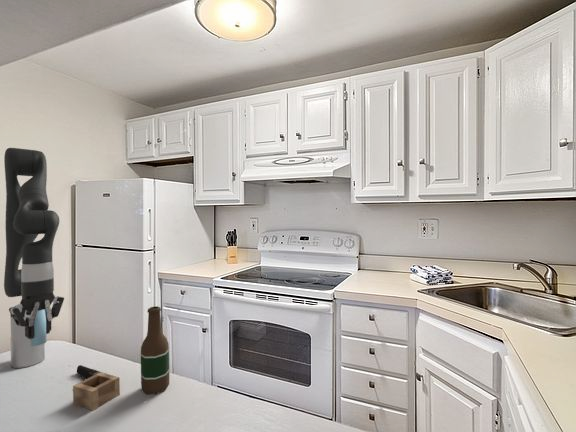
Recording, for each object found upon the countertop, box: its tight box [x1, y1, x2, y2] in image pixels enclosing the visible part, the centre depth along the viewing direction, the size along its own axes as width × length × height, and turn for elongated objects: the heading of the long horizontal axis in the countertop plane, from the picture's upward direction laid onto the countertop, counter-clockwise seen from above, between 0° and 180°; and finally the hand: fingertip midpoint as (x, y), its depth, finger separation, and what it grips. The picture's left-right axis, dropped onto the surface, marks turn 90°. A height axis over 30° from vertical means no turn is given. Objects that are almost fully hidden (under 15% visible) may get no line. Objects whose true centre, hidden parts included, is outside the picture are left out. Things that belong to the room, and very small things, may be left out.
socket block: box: [72, 371, 121, 411], centre depth 89 cm, size 8×8×5 cm
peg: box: [31, 309, 47, 346], centre depth 94 cm, size 4×4×10 cm
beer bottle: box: [140, 306, 170, 396], centre depth 94 cm, size 8×8×24 cm
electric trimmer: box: [76, 364, 107, 380], centre depth 101 cm, size 4×16×3 cm, turn 60°
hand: (38, 335), depth 94 cm, fingers closed on peg, 3 cm apart
